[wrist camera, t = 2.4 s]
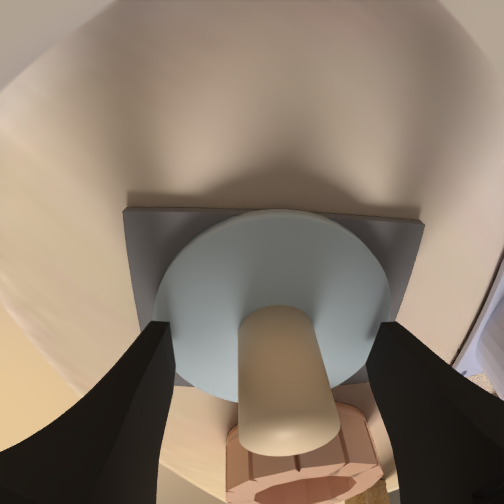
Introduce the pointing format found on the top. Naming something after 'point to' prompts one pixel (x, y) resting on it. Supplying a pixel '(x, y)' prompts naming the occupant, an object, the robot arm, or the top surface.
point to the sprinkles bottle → (371, 495)
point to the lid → (274, 321)
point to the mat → (199, 219)
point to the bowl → (306, 468)
